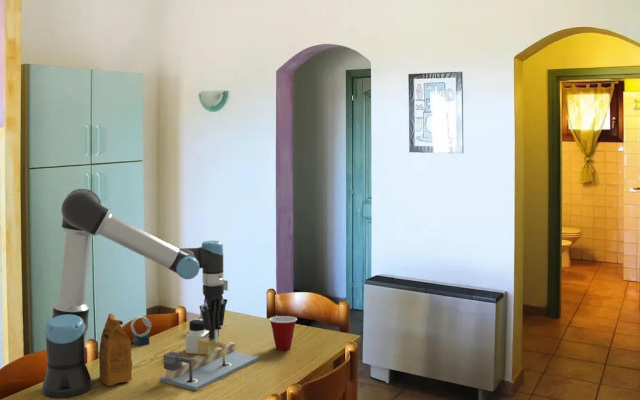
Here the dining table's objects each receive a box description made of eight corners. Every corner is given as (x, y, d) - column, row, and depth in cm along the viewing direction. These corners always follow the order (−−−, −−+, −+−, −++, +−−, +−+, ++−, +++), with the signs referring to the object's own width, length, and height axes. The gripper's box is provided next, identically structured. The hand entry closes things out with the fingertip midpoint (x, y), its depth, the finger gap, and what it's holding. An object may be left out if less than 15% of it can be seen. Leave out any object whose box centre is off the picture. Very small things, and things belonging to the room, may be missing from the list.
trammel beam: (188, 383, 223) (187, 360, 222) (164, 377, 228) (163, 354, 227) (250, 354, 251) (250, 333, 251) (227, 348, 257) (227, 329, 256)
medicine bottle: (203, 354, 254) (202, 323, 253) (185, 353, 256) (184, 322, 254) (210, 348, 261) (209, 318, 260) (192, 347, 263) (192, 317, 261)
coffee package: (125, 371, 237) (123, 310, 235) (135, 382, 226) (133, 319, 224) (96, 376, 232) (94, 314, 230) (104, 388, 221) (102, 323, 219)
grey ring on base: (154, 343, 267) (153, 316, 266) (134, 347, 263) (133, 319, 261) (148, 339, 272) (147, 313, 271) (129, 343, 267) (128, 316, 266)
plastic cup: (298, 343, 267) (298, 314, 265) (295, 353, 256) (295, 322, 255) (271, 343, 268) (271, 313, 267) (267, 352, 257) (266, 321, 256)
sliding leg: (221, 366, 237) (221, 345, 236) (198, 361, 243) (197, 340, 242) (228, 363, 240) (228, 342, 240) (205, 357, 246) (205, 337, 245)
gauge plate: (196, 390, 220) (196, 387, 219) (160, 381, 228) (160, 377, 228) (258, 360, 248) (258, 356, 248) (224, 352, 257) (224, 349, 257)
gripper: (209, 288, 236) (210, 353, 239) (232, 281, 247) (233, 343, 250) (193, 286, 240) (194, 350, 243) (217, 278, 251) (218, 340, 254)
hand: (214, 346), depth 246 cm, fingers closed
